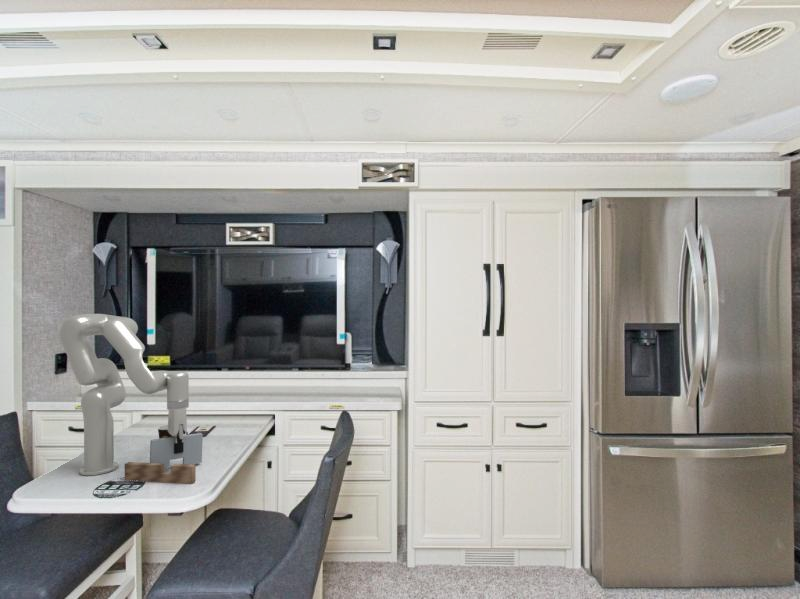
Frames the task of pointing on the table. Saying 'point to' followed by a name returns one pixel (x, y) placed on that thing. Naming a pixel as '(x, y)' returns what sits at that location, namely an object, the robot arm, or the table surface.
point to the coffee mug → (165, 432)
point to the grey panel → (165, 452)
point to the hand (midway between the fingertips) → (178, 451)
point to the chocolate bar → (202, 430)
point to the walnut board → (160, 473)
